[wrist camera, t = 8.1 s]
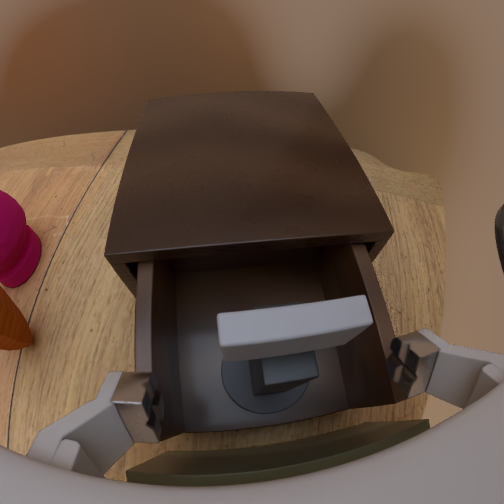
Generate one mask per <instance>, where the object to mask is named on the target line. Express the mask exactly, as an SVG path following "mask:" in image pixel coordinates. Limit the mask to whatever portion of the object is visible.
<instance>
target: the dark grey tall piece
mask: <svg viewBox="0 0 504 504" xmlns="http://www.w3.org/2000/svg"><path fill="white" fill-rule="evenodd" d="M371 324H373V319H372V315H371V312H370V308H369V305H368V302H367V298H366V296H365V295H359V296H353V297H346V298H340V299H334V300H327V301H320V302H313V303H306V304H305V303H304V302H296V303H288V304H280V305H271V306H263V307H254V308H253V310H247V311H237V312H226V313H219V314H218V315H217V327H218V337H219V345H220V349H221V352H222V356H223V361H222V366H221V377H222V382H223V385H224V388H225V390H226V392H227V393H228V395H229V396H230V398H231V399H232V400H233V401H234V402H235V403H236V404H237V405H238V406H240V407H241V408H243V409H245V410H247V411H250V412H254V413H259V414H272V413H277V412H280V411H283V410H285V409H287V408H289V407H291V406H292V405H294V404H295V403H296V402H297V401H298V400H299V399H300V398H301V397H302V395H303V394H304V392H305V390H306V388H307V386H308V383H309V381H311V380H314V379H316V378H318V377H319V371H318V366H317V361H316V356H315V351H314V350H319V349H324V348H329V347H334V346H339V345H344V344H346V343H347V342H349V341H350V340H351V339H353V338H354V337H356V336H357V335H358V334H360V333H361V332H362V331H364V330H365V329H366V328H367V327H369V326H370V325H371Z"/></svg>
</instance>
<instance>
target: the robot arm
mask: <svg viewBox="0 0 504 504" xmlns="http://www.w3.org/2000/svg"><path fill="white" fill-rule="evenodd" d="M389 349H390V350H391V352H392V353H391V354H390V356H389V357H388V358H387V364H386V369H387V374H388V376H389V378H390V379H391V380H392V381H393V382H396V383H399V389H400V390H401V391H402V393H403V394H404V395H405V396H406V397H407V398H411V397H413V396H416V395H419V394H421V393H423V392H426V393H428V394H430V395H433V396H435V397H437V398H439V399H441V400H444V401H446V402H448V403H451V404H453V405H455V406H458V407H460V408H463V410H462V411H460V412H458V413H456V414H455V415H453V416H451V417H450V418H448V419H446V420H445V421H443V422H441V423H439V424H438V425H436V426H434V427H432V428H430V429H428V430H426V431H424V432H422V433H420V434H418V435H416V436H414V437H412V438H410V439H408V440H406V441H403V442H401V443H399V444H397V445H394V446H392V447H389V448H387V449H385V450H382V451H380V452H377V453H374V454H372V455H369V456H366V457H363V458H360V459H358V460H355V461H351V462H348V463H345V464H342V465H338V466H335V467H332V468H328V469H324V470H320V471H316V472H312V473H308V474H303V475H299V476H294V477H289V478H283V479H277V480H271V481H264V482H257V483H248V484H238V485H225V486H199V487H188V486H161V485H148V484H139V483H130V482H123V481H117V480H111V479H106V478H105V477H104V476H103V475H104V474H105V473H106V472H107V471H108V470H109V469H110V468H111V467H112V466H113V465H114V464H115V463H116V462H117V461H118V460H119V459H120V458H121V457H122V456H123V455H124V454H125V452H126V451H127V450H128V449H129V448H130V447H131V446H132V445H133V444H134V442H138V443H159V440H160V434H161V426H160V424H159V422H160V421H161V420H162V419H163V415H164V404H163V398H162V395H161V392H159V391H158V390H157V389H156V387H157V379H156V377H155V374H154V373H153V372H123V371H111V372H109V373H108V374H107V376H106V378H105V380H104V382H103V384H102V386H101V388H100V390H99V392H98V394H97V396H96V398H95V401H91V400H90V401H89V402H87V403H86V404H84V405H82V406H81V407H79V408H77V409H76V410H74V411H72V412H71V413H69V414H67V415H66V416H64V417H62V418H61V419H59V420H57V421H56V422H54V423H52V424H51V425H49V426H47V427H45V428H44V429H42V430H40V431H39V433H38V434H37V436H36V438H35V440H34V442H33V443H32V445H31V447H30V449H29V451H28V453H27V455H26V456H24V455H22V454H19V453H17V452H15V451H12V450H10V449H8V448H5V447H3V446H1V445H0V504H504V355H502V354H498V353H494V352H488V351H483V350H478V349H473V348H468V347H463V346H458V345H450V344H448V343H447V342H445V341H444V340H443V339H441V338H440V337H439V336H437V335H436V334H434V333H433V332H432V331H430V330H429V329H426V328H423V329H420V330H417V331H414V332H412V333H409V334H406V335H403V336H399V337H396V338H393V339H392V341H391V343H390V348H389Z"/></svg>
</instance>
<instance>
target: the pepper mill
mask: <svg viewBox="0 0 504 504" xmlns="http://www.w3.org/2000/svg"><path fill="white" fill-rule="evenodd" d="M40 254H41V242H40V239H39V238H38V236H37V235H36V234H35V232H34V231H33V230H32V229H31V227H30V226H28V225H26V217H25V213H24V211H23V208H22V207H21V206H20V205H19V204H18V202H17V201H16V200H15V199H14V198H12V197H11V196H10V195H8V194H7V193H5V192H3V191H1V190H0V282H1V283H2V284H3V285H4V286H6V287H10V288H12V287H17V286H19V285H21V284H22V283H24V282H25V281H26V280H27V279H28V278H29V277H30V275H31V274H32V273H33V271H34V269H35V268H36V266H37V264H38V261H39V258H40Z"/></svg>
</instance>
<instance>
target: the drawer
mask: <svg viewBox="0 0 504 504" xmlns="http://www.w3.org/2000/svg"><path fill="white" fill-rule="evenodd" d="M359 295H365V296H366V298H367V302H368V305H369V308H370V312H371V315H372V319H373V324H371V325H370V326H369V327H367V328H366V329H365V330H364V331H362V332H361V333H360V334H358V335H357V336H356V337H354V338H353V339H351V340H350V341H349V342H347V343H346V344H344V345H339V346H334V347H329V348H324V349H319V350H314V351H315V356H316V361H317V366H318V371H319V377H318V378H316V379H314V380H311V381H309V383H308V386H307V388H306V390H305V392H304V394H303V395H302V397H301V398H300V399H299V400H298V401H297V402H296V403H295V404H294V405H292V406H291V407H289V408H287V409H285V410H283V411H280V412H277V413H272V414H259V413H254V412H250V411H247V410H245V409H243V408H241V407H240V406H238V405H237V404H236V403H235V402H234V401H233V400H232V399H231V398H230V396H229V395H228V393H227V392H226V390H225V388H224V385H223V382H222V377H221V366H222V361H223V356H222V352H221V349H220V345H219V337H218V327H217V315H218V314H219V313H226V312H237V311H247V310H253V308H254V307H263V306H271V305H280V304H288V303H296V302H304V303H305V304H306V303H313V302H320V301H327V300H334V299H340V298H346V297H353V296H359ZM393 338H395V334H394V331H393V327H392V324H391V320H390V317H389V314H388V310H387V307H386V304H385V301H384V298H383V294H382V291H381V288H380V285H379V282H378V279H377V277H376V274H375V271H374V268H373V265H372V263H371V260H370V257H369V254H368V252H367V249H366V246H365V244H364V242H362V243H350V244H338V245H327V246H315V247H304V248H292V249H281V250H269V251H257V252H246V253H234V254H223V255H211V256H200V257H188V258H176V259H165V260H153V261H142V262H138V272H137V286H136V304H135V372H153V373H154V374H155V377H156V379H157V387H156V389H157V390H158V391H159V392H161V395H162V398H163V404H164V415H163V419H162V420H161V421H160V422H159V424H160V426H161V434H160V440H159V442H160V441H163V440H166V439H169V438H171V437H174V436H177V435H179V434H182V433H196V432H217V431H230V430H241V429H250V428H258V427H265V426H272V425H279V424H285V423H290V422H296V421H301V420H306V419H310V418H315V417H319V416H324V415H328V414H332V413H336V412H340V411H343V410H347V409H354V408H365V407H373V406H381V405H389V404H395V403H398V402H401V401H403V400H406V399H408V398H407V397H406V396H405V395H404V394H403V393H402V391H401V390H400V389H399V383H396V382H393V381H392V380H391V379H390V378H389V376H388V374H387V369H386V364H387V358H388V357H389V356H390V354H391V353H392V352H391V350H390V349H389V348H390V343H391V341H392V339H393ZM428 429H430V425H429V419H423V420H410V421H390V422H364V423H361V424H358V425H354V426H351V427H348V428H344V429H341V430H337V431H333V432H330V433H326V434H322V435H317V436H313V437H309V438H304V439H299V440H294V441H289V442H283V443H277V444H271V445H264V446H257V447H248V448H239V449H227V450H211V451H167V452H165V453H163V454H161V455H159V456H157V457H155V458H153V459H150V460H148V461H146V462H144V463H142V464H140V465H138V466H136V467H133V468H131V469H129V470H127V471H126V477H127V482H130V483H139V484H148V485H161V486H188V487H199V486H225V485H238V484H248V483H257V482H264V481H271V480H277V479H283V478H289V477H294V476H299V475H303V474H308V473H312V472H316V471H320V470H324V469H328V468H332V467H335V466H338V465H342V464H345V463H348V462H351V461H355V460H358V459H360V458H363V457H366V456H369V455H372V454H374V453H377V452H380V451H382V450H385V449H387V448H389V447H392V446H394V445H397V444H399V443H401V442H403V441H406V440H408V439H410V438H412V437H414V436H416V435H418V434H420V433H422V432H424V431H426V430H428Z"/></svg>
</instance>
